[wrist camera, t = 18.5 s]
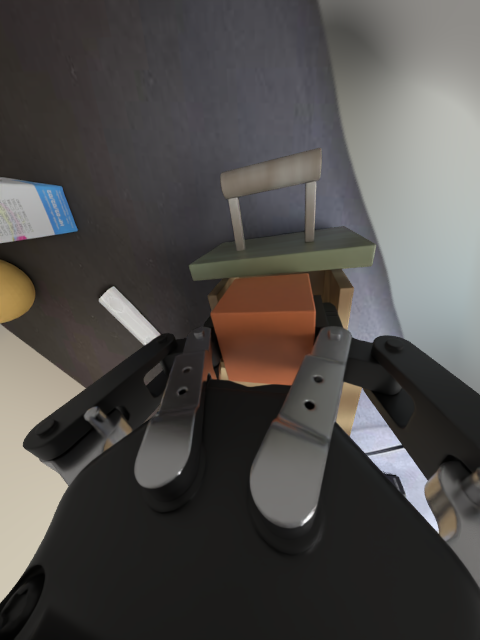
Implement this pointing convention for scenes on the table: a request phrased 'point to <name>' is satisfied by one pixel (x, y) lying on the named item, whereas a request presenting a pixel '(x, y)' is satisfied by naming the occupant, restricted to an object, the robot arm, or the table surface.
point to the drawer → (285, 238)
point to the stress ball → (14, 292)
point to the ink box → (32, 210)
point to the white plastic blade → (128, 315)
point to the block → (265, 327)
